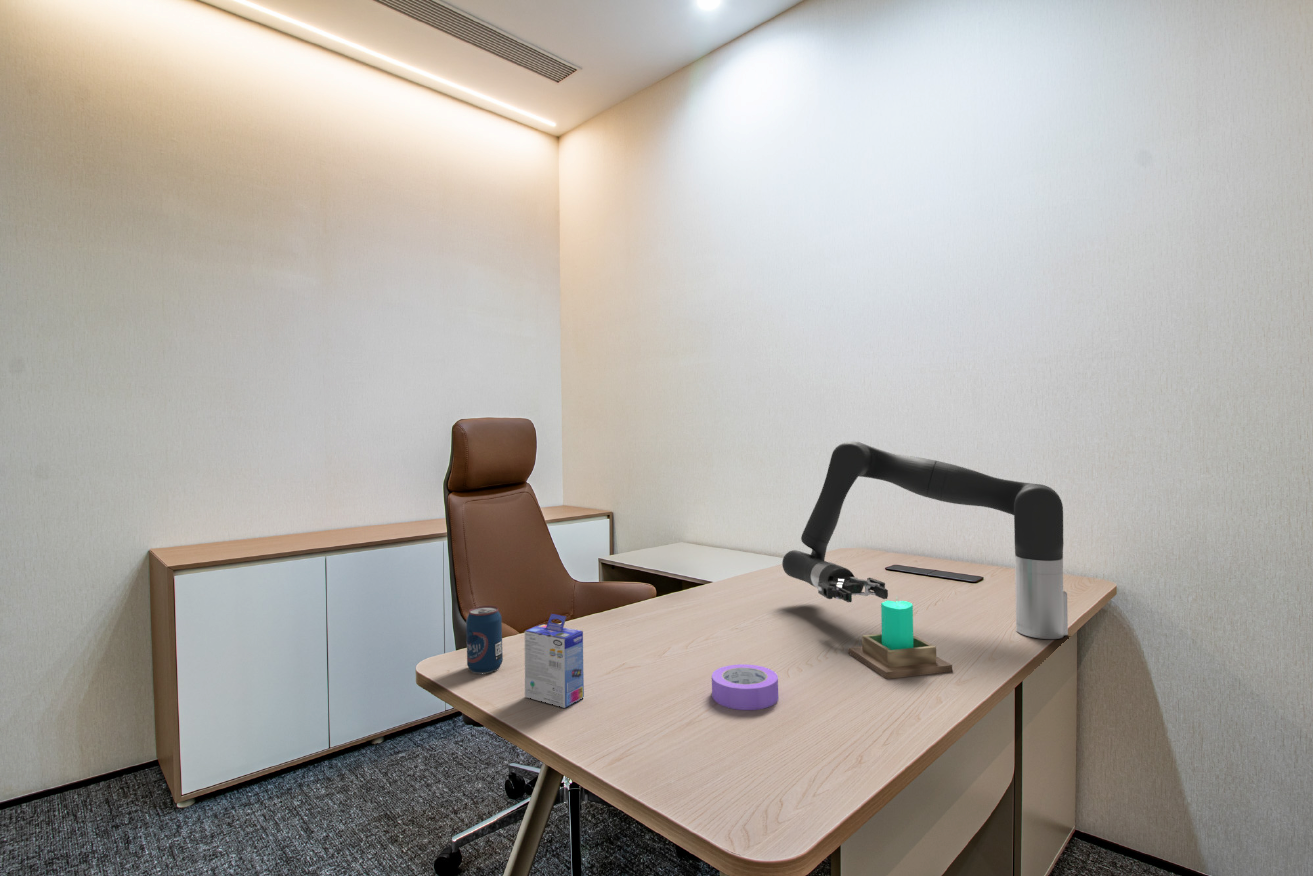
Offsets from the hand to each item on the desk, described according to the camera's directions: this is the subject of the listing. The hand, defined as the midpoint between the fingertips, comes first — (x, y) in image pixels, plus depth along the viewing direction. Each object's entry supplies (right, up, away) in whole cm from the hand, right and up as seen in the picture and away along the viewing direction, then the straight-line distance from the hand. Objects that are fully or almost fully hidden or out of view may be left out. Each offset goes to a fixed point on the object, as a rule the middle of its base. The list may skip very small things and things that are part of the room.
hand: (868, 596), depth 138 cm
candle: (+2, -10, -11) cm, 14 cm away
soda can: (-81, -13, -9) cm, 82 cm away
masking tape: (-30, -12, -25) cm, 41 cm away
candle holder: (+2, -11, -11) cm, 15 cm away
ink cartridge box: (-64, -12, -24) cm, 70 cm away
